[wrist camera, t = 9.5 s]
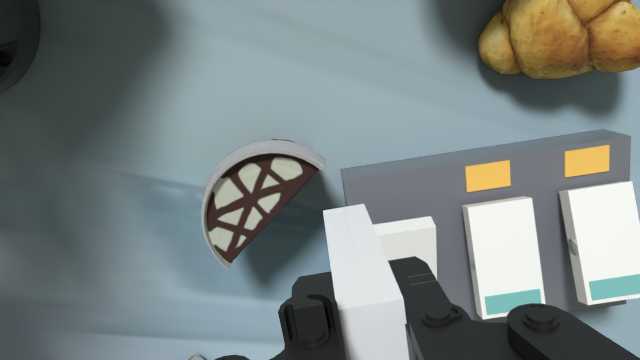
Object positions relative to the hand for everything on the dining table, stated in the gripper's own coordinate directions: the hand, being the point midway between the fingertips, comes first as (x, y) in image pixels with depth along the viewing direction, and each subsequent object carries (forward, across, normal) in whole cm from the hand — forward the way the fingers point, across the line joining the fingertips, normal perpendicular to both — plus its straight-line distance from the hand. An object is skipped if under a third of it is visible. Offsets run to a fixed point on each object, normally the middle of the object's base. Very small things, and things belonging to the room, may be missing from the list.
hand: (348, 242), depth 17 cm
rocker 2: (+21, +14, -14) cm, 29 cm away
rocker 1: (+22, +5, -13) cm, 26 cm away
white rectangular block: (+21, +23, -14) cm, 34 cm away
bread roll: (+29, +22, +6) cm, 36 cm away
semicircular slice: (+29, -7, -3) cm, 30 cm away
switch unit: (+28, +14, -14) cm, 34 cm away
